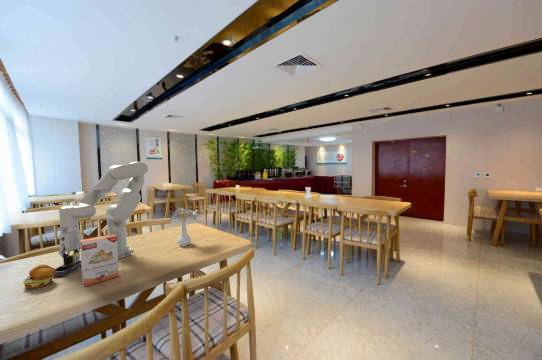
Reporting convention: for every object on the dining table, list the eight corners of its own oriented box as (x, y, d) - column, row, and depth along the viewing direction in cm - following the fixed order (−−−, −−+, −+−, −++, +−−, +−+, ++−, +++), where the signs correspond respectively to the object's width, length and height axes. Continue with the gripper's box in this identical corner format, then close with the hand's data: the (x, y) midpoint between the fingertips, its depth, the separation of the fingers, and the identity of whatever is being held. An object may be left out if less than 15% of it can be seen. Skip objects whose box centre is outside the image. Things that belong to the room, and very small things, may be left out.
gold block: (80, 264, 133) (79, 252, 132) (74, 268, 128) (73, 255, 128) (70, 265, 132) (69, 252, 132) (64, 268, 128) (63, 256, 127)
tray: (84, 264, 134) (83, 260, 134) (64, 276, 120) (63, 271, 120) (70, 265, 134) (70, 260, 133) (48, 277, 120) (48, 272, 119)
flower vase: (201, 242, 170) (200, 207, 168) (179, 250, 155) (178, 212, 153) (189, 239, 177) (188, 206, 175) (167, 246, 162) (165, 210, 160)
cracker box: (84, 287, 109) (81, 242, 108) (82, 282, 114) (79, 239, 112) (119, 276, 119) (117, 235, 118) (116, 273, 123) (114, 233, 122)
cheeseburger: (36, 279, 117) (40, 259, 117) (59, 283, 118) (63, 264, 118) (16, 290, 107) (20, 268, 107) (41, 294, 108) (46, 273, 108)
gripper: (64, 233, 120) (66, 268, 122) (88, 224, 137) (90, 255, 139) (48, 234, 120) (51, 269, 121) (74, 225, 137) (76, 255, 138)
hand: (71, 261), depth 130 cm, fingers open, 5 cm apart
